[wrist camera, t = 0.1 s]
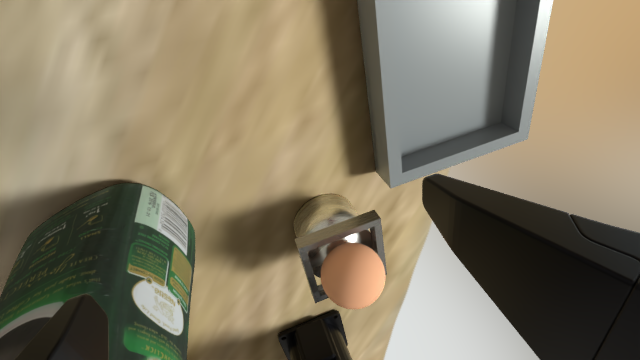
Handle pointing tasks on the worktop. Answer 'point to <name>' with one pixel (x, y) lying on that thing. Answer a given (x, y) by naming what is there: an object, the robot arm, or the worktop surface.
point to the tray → (449, 79)
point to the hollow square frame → (332, 234)
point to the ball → (353, 275)
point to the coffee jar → (108, 273)
